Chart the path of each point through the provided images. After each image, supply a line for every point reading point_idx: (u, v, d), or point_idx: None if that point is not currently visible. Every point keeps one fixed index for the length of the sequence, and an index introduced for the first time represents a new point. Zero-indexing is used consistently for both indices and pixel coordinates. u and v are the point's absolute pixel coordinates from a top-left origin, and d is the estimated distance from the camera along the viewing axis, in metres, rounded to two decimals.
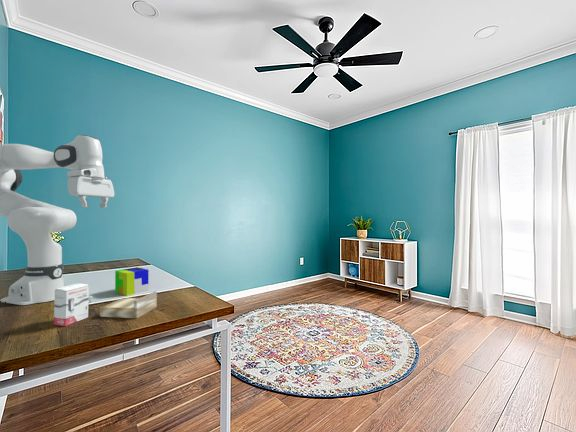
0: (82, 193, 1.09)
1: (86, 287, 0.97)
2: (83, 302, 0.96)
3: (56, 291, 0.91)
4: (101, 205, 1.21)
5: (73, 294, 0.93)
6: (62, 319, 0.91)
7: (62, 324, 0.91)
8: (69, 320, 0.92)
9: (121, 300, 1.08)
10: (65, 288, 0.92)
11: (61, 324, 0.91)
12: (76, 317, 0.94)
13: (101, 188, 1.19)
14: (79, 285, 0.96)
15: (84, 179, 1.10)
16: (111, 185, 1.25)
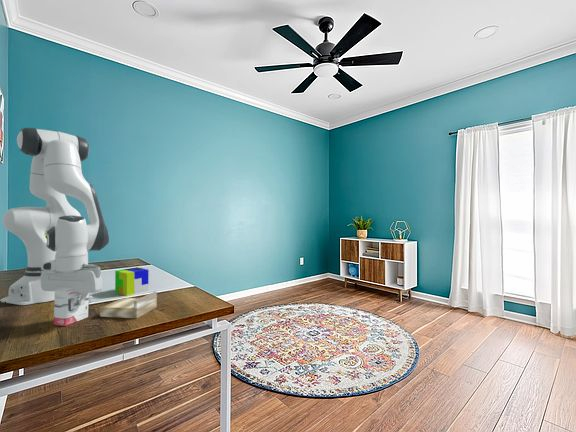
0: (47, 289, 0.94)
1: None
2: None
3: (56, 291, 0.91)
4: None
5: (73, 294, 0.93)
6: (62, 319, 0.91)
7: (62, 324, 0.91)
8: (69, 319, 0.92)
9: (121, 300, 1.08)
10: (65, 288, 0.92)
11: (61, 324, 0.91)
12: (76, 317, 0.94)
13: (74, 281, 0.93)
14: None
15: (48, 273, 0.93)
16: (90, 277, 0.92)
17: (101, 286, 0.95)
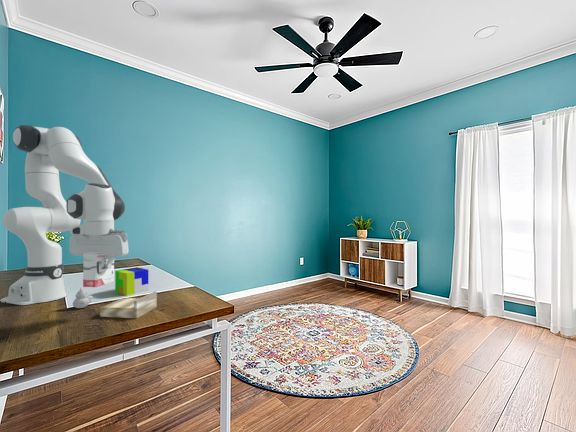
0: (76, 253, 0.98)
1: None
2: None
3: (85, 254, 0.95)
4: None
5: (101, 257, 0.97)
6: (91, 280, 0.95)
7: (91, 285, 0.95)
8: (98, 282, 0.96)
9: (121, 300, 1.08)
10: (93, 252, 0.96)
11: (90, 285, 0.95)
12: (104, 280, 0.98)
13: (102, 245, 0.97)
14: None
15: (77, 238, 0.97)
16: (117, 241, 0.96)
17: (127, 251, 0.99)
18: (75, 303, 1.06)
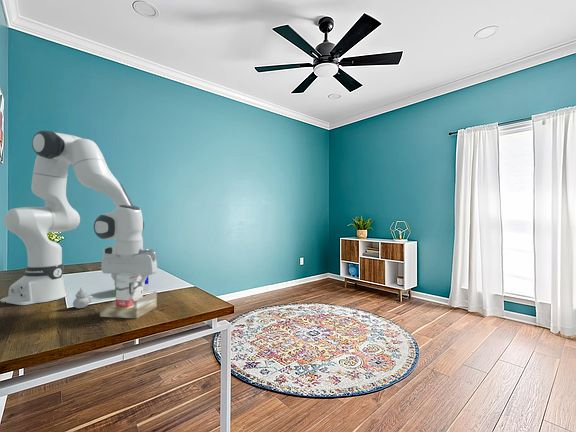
0: (107, 272, 1.03)
1: None
2: (139, 287, 1.06)
3: (118, 275, 1.00)
4: None
5: (132, 278, 1.02)
6: (123, 300, 1.00)
7: (124, 305, 1.00)
8: (130, 301, 1.01)
9: None
10: (125, 273, 1.02)
11: (123, 305, 1.00)
12: (134, 300, 1.04)
13: (133, 264, 1.02)
14: None
15: (109, 257, 1.03)
16: (147, 260, 1.02)
17: (156, 269, 1.04)
18: (75, 303, 1.06)
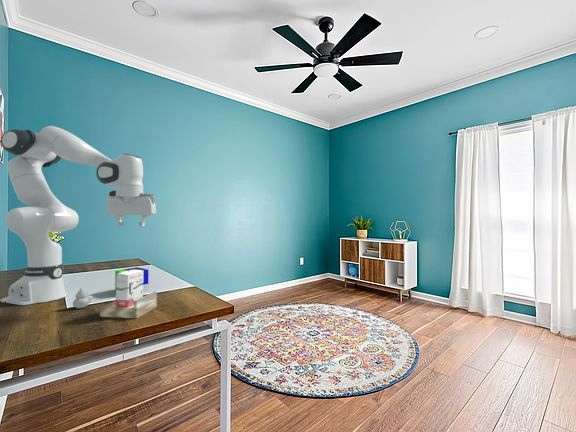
0: (111, 213, 1.16)
1: (142, 272, 1.07)
2: (139, 287, 1.06)
3: (118, 275, 1.00)
4: None
5: (132, 278, 1.02)
6: (123, 300, 1.00)
7: (124, 305, 1.00)
8: (130, 301, 1.01)
9: None
10: (125, 273, 1.02)
11: (123, 305, 1.00)
12: (134, 300, 1.04)
13: (134, 206, 1.15)
14: (136, 271, 1.06)
15: (113, 200, 1.15)
16: (147, 202, 1.14)
17: (155, 211, 1.17)
18: (75, 303, 1.06)
